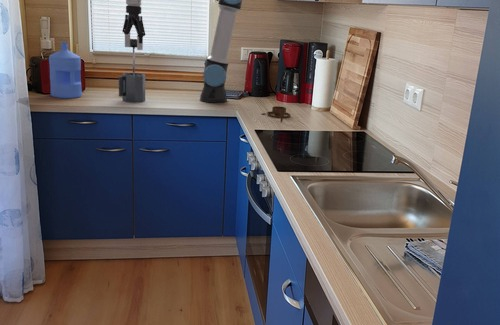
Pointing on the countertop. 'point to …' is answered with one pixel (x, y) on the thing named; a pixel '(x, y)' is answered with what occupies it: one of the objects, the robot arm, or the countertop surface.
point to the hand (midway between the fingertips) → (133, 48)
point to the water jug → (65, 73)
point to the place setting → (278, 112)
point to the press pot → (132, 87)
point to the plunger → (133, 44)
